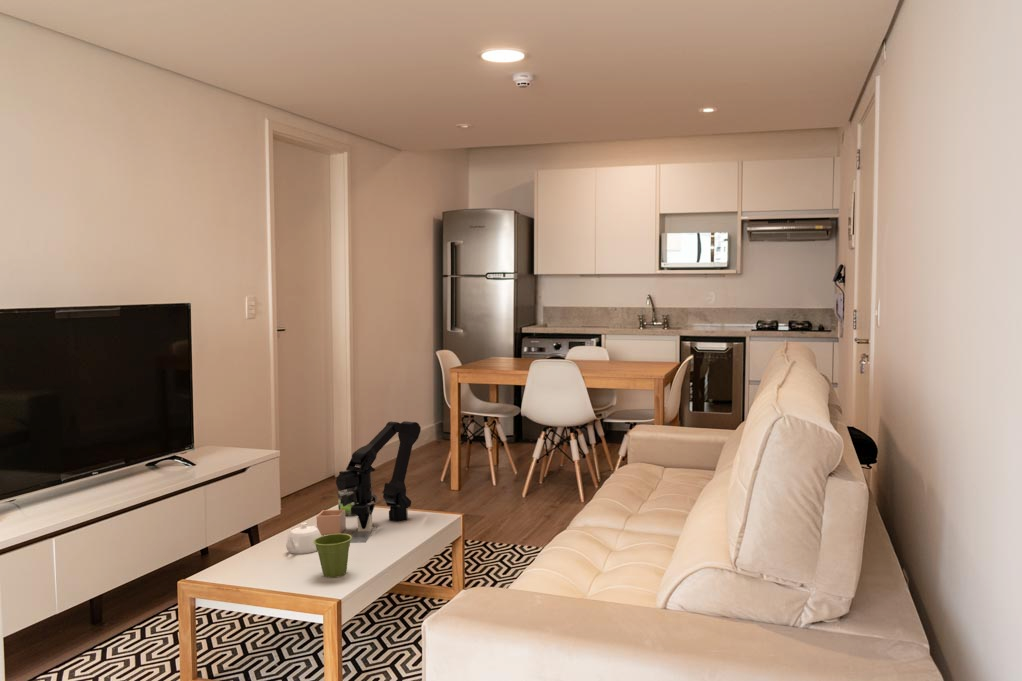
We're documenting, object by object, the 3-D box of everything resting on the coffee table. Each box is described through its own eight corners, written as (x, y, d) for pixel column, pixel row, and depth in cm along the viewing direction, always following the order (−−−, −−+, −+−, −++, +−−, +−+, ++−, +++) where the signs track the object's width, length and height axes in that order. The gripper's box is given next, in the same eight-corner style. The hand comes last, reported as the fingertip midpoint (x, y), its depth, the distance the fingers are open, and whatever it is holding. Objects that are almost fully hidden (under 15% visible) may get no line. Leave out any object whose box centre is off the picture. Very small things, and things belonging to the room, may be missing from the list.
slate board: (376, 529, 299) (376, 526, 299) (365, 545, 280) (365, 542, 280) (357, 530, 300) (357, 527, 300) (345, 546, 280) (345, 542, 280)
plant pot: (337, 565, 260) (335, 531, 259) (361, 572, 252) (359, 537, 252) (307, 575, 251) (305, 540, 250) (331, 583, 243) (329, 546, 242)
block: (372, 527, 298) (372, 514, 298) (370, 531, 294) (369, 517, 294) (360, 527, 299) (360, 514, 298) (358, 531, 294) (357, 517, 294)
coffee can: (356, 520, 314) (355, 484, 313) (333, 519, 317) (332, 483, 317) (369, 513, 324) (367, 479, 323) (346, 512, 327) (345, 478, 326)
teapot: (307, 562, 264) (306, 532, 263) (273, 561, 266) (272, 531, 266) (333, 544, 283) (332, 516, 283) (301, 543, 286) (300, 515, 285)
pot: (346, 530, 300) (345, 509, 299) (340, 537, 291) (339, 515, 291) (323, 531, 300) (322, 510, 300) (317, 538, 291) (316, 516, 291)
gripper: (347, 480, 305) (349, 520, 306) (335, 491, 286) (337, 534, 287) (376, 479, 305) (378, 519, 305) (366, 490, 286) (368, 533, 287)
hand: (365, 526), depth 296 cm, fingers open, 5 cm apart
